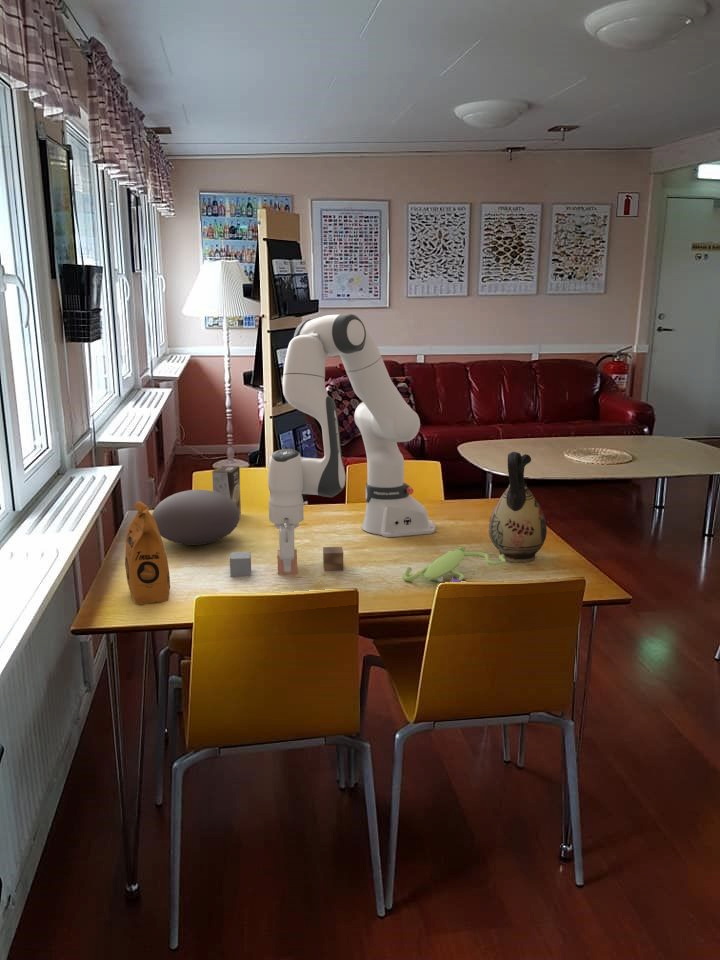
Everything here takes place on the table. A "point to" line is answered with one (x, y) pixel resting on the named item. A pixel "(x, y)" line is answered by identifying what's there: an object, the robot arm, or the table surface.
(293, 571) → the terracotta block
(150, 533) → the coffee package
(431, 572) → the figurine
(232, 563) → the slate block
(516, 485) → the ceramic jug
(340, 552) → the walnut block
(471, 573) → the table surface
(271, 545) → the table surface
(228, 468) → the coffee box
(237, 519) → the flattened ellipsoid
